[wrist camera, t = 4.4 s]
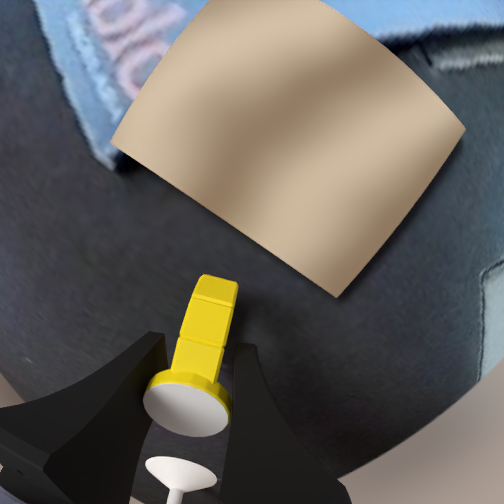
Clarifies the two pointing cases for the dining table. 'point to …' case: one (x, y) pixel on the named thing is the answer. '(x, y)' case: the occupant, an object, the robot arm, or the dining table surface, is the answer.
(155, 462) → the champagne flute
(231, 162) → the wooden board
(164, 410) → the watch
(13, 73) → the dining table surface
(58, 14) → the dining table surface
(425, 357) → the dining table surface
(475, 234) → the dining table surface
